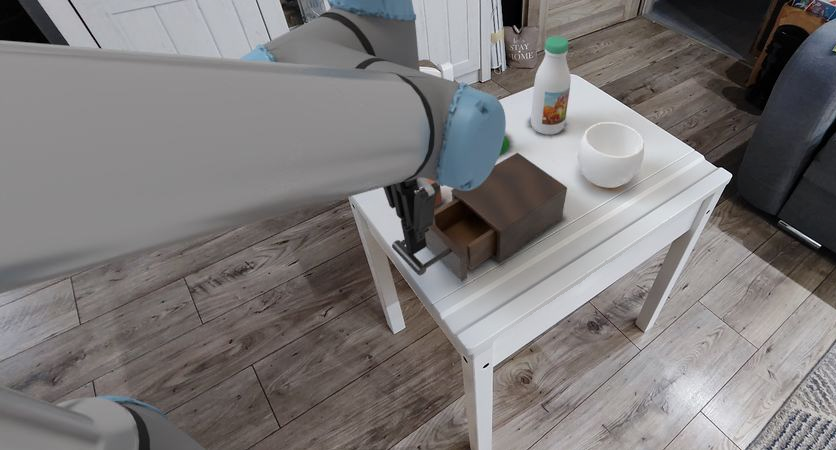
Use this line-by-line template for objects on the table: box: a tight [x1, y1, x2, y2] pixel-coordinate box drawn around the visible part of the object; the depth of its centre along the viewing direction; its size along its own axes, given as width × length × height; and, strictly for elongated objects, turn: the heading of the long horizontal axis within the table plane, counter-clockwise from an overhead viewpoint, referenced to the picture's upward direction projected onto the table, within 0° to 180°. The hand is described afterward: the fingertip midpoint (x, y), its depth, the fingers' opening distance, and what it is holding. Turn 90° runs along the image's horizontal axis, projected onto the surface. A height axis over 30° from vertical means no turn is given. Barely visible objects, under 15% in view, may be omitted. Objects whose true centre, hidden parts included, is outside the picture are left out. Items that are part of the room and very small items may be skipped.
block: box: [426, 178, 443, 208], centre depth 85 cm, size 5×5×5 cm
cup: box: [577, 121, 645, 189], centre depth 89 cm, size 12×12×10 cm
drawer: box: [391, 198, 497, 282], centre depth 76 cm, size 21×11×6 cm, turn 132°
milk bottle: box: [530, 35, 572, 135], centre depth 97 cm, size 8×8×20 cm
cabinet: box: [451, 152, 568, 264], centre depth 81 cm, size 16×13×8 cm
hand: (416, 247), depth 70 cm, fingers closed
